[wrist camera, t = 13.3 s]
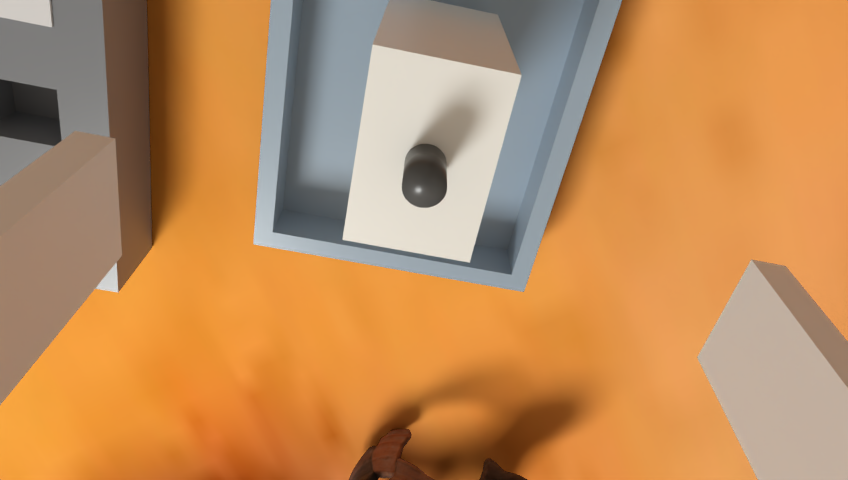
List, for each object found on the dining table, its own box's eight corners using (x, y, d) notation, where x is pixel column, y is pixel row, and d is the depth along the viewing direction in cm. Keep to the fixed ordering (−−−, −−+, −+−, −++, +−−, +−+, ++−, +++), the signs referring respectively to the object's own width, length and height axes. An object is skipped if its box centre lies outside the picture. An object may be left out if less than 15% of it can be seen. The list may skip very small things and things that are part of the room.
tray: (304, -217, 23) (287, -228, 20) (643, -138, 24) (668, -138, 21) (268, 212, 31) (253, 244, 29) (517, 257, 32) (523, 291, 30)
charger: (395, -17, 25) (366, 60, 15) (493, 4, 26) (528, 93, 16) (371, 125, 28) (335, 268, 18) (460, 142, 29) (471, 292, 19)
